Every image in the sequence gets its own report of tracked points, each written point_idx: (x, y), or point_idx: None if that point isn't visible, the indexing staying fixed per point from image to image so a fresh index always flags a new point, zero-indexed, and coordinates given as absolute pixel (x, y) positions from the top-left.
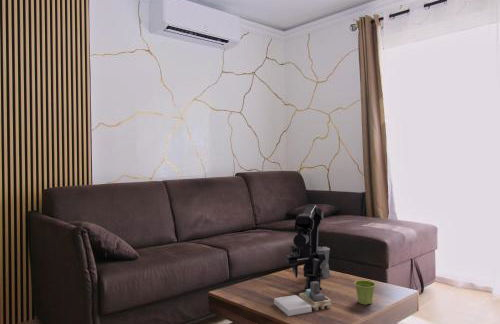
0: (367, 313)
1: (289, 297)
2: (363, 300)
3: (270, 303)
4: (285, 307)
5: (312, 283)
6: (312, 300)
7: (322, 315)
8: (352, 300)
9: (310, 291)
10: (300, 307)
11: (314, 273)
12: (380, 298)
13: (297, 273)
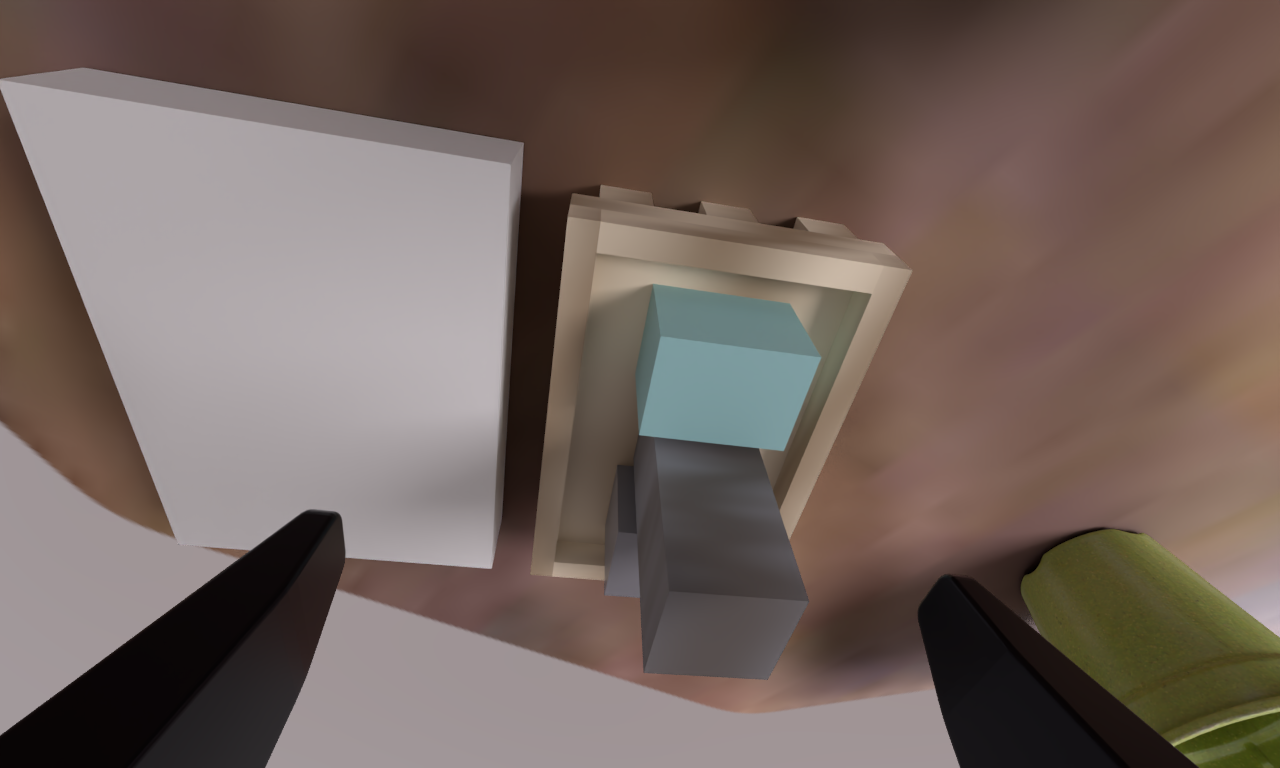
0: (864, 685)
1: (339, 214)
2: (1039, 629)
3: (7, 4)
4: (156, 482)
5: (650, 642)
6: (616, 452)
7: (546, 599)
8: (1064, 497)
9: (655, 450)
10: (350, 549)
11: (939, 675)
12: (1270, 568)
13: (263, 760)
